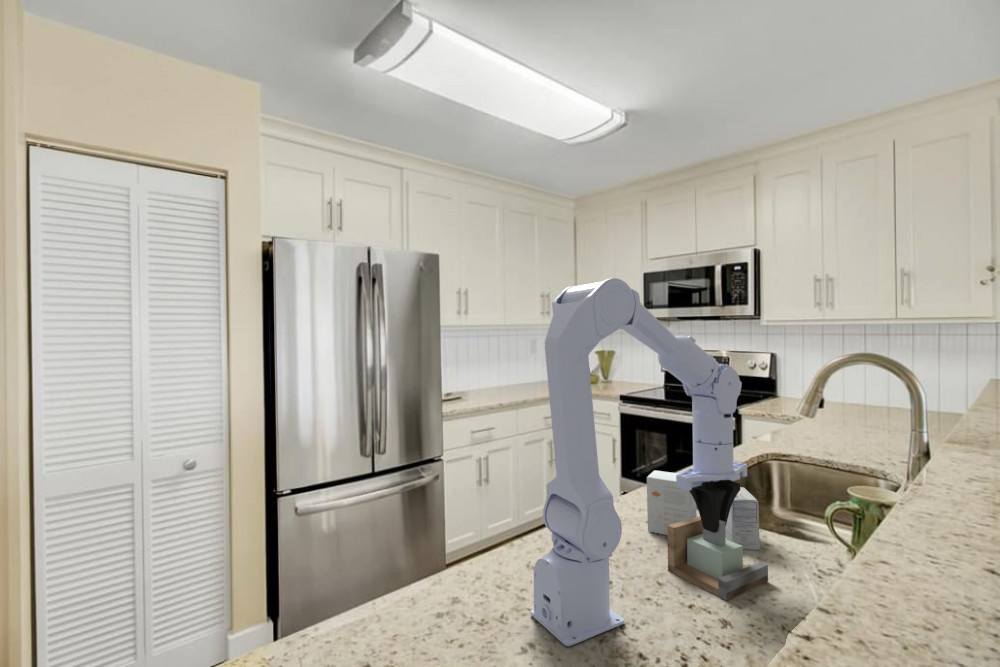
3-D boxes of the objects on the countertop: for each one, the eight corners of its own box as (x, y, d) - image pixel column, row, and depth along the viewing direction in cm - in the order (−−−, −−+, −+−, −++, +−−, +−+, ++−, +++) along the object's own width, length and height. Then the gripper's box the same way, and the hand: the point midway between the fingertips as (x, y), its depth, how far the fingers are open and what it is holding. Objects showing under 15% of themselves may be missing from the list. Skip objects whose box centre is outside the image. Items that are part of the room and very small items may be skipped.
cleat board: (726, 600, 65) (725, 549, 65) (667, 570, 73) (667, 525, 73) (768, 581, 70) (767, 534, 70) (708, 555, 78) (708, 513, 78)
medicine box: (760, 551, 80) (759, 500, 80) (732, 549, 81) (731, 499, 81) (745, 533, 88) (745, 486, 88) (720, 531, 88) (719, 485, 89)
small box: (697, 530, 89) (696, 475, 89) (691, 541, 84) (691, 482, 84) (654, 522, 93) (653, 469, 93) (646, 532, 88) (646, 476, 88)
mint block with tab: (722, 581, 68) (721, 529, 68) (687, 564, 73) (686, 516, 73) (742, 572, 70) (742, 522, 71) (707, 556, 76) (707, 510, 76)
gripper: (705, 451, 65) (706, 549, 65) (765, 440, 72) (766, 528, 72) (664, 442, 71) (665, 531, 71) (723, 432, 78) (725, 513, 78)
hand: (713, 529), depth 72 cm, fingers closed on mint block with tab
